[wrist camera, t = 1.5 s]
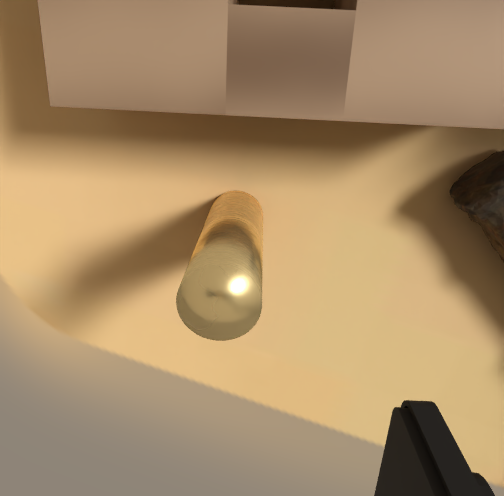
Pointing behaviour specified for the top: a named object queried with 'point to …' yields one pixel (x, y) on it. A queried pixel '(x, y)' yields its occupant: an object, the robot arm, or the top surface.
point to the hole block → (281, 59)
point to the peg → (225, 270)
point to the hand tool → (484, 197)
